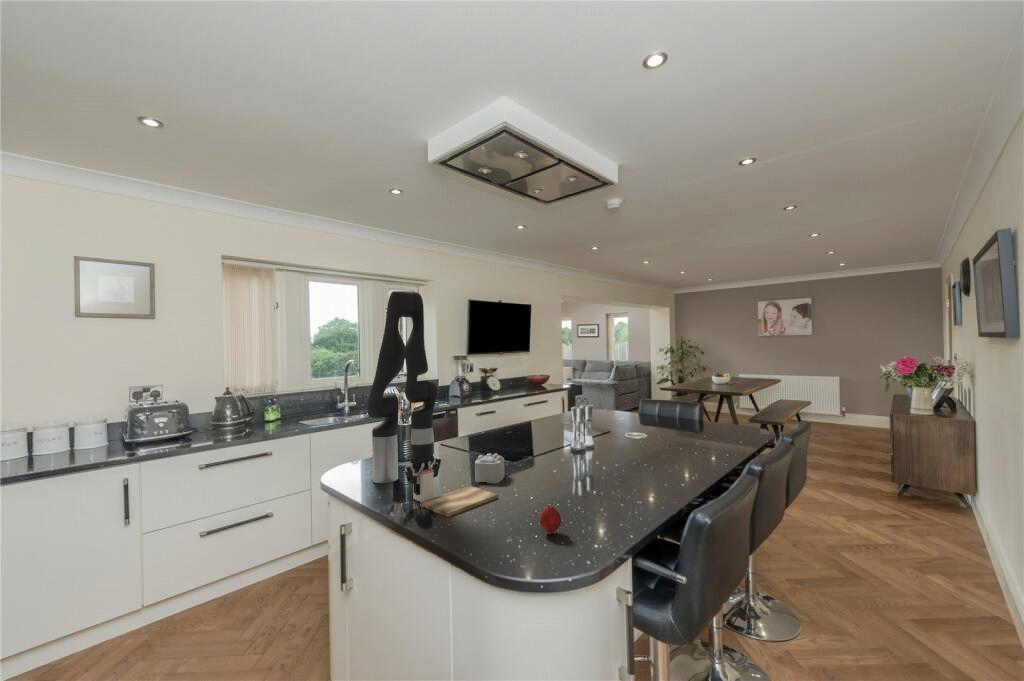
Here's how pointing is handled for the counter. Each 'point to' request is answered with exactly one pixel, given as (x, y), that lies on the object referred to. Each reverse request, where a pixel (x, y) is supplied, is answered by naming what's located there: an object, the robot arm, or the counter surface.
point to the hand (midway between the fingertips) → (423, 492)
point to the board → (458, 501)
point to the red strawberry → (550, 519)
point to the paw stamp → (489, 468)
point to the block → (425, 486)
